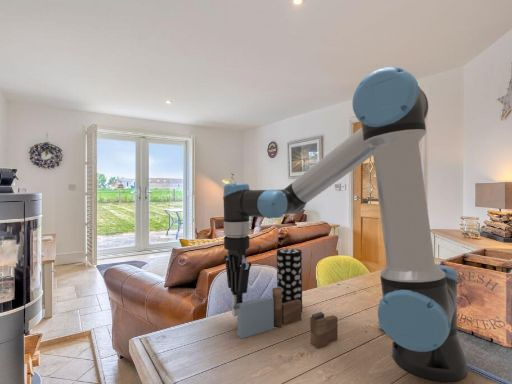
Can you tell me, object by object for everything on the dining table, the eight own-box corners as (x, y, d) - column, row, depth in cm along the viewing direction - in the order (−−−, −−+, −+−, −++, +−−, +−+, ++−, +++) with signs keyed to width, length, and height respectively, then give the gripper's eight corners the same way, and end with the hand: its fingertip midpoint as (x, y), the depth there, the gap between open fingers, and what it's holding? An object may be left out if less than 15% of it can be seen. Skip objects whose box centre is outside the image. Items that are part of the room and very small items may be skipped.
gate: (270, 326, 89) (269, 296, 89) (273, 328, 88) (273, 298, 88) (232, 337, 83) (232, 304, 83) (236, 340, 81) (235, 307, 81)
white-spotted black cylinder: (301, 316, 96) (301, 254, 96) (275, 314, 97) (275, 253, 97) (302, 306, 104) (302, 248, 104) (279, 304, 106) (278, 248, 105)
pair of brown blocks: (339, 340, 81) (339, 299, 80) (309, 351, 75) (309, 308, 75) (298, 316, 95) (298, 282, 95) (271, 325, 90) (270, 288, 90)
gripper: (259, 237, 85) (259, 319, 85) (237, 231, 96) (238, 304, 96) (235, 239, 81) (236, 326, 81) (216, 233, 92) (216, 309, 92)
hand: (237, 314), depth 89 cm, fingers closed
